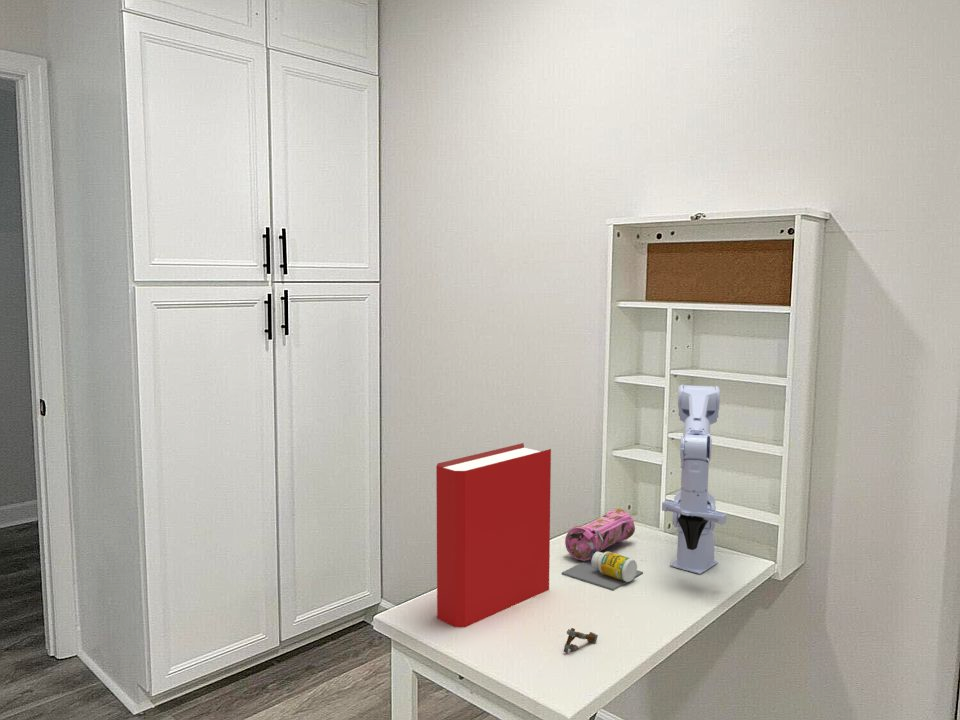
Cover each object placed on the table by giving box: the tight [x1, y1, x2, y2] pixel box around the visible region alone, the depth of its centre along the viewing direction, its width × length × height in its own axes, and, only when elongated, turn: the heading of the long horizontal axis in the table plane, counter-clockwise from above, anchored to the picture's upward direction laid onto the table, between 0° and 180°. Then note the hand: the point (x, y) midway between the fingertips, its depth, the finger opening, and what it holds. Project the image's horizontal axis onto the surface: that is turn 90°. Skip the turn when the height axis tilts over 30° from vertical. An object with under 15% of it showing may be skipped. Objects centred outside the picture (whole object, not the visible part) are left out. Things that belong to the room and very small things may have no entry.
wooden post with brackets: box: [563, 627, 599, 654], centre depth 150 cm, size 2×8×4 cm, turn 130°
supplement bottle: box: [591, 551, 638, 583], centre depth 183 cm, size 5×5×10 cm
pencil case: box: [564, 507, 636, 562], centre depth 200 cm, size 21×9×9 cm, turn 142°
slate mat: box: [561, 558, 644, 591], centre depth 186 cm, size 13×14×1 cm
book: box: [435, 442, 552, 628], centre depth 168 cm, size 27×8×32 cm, turn 135°
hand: (692, 548), depth 176 cm, fingers closed
